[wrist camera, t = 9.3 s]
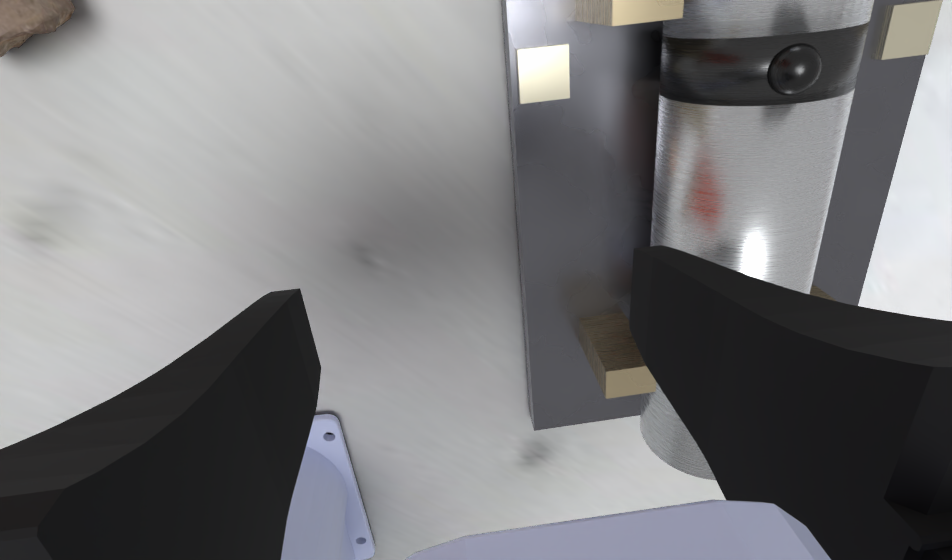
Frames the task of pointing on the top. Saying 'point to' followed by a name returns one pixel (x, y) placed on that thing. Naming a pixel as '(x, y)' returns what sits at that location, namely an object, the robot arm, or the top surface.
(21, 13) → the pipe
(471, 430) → the top surface
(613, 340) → the grey plate with pegs
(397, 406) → the top surface
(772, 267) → the silver long rounded block
